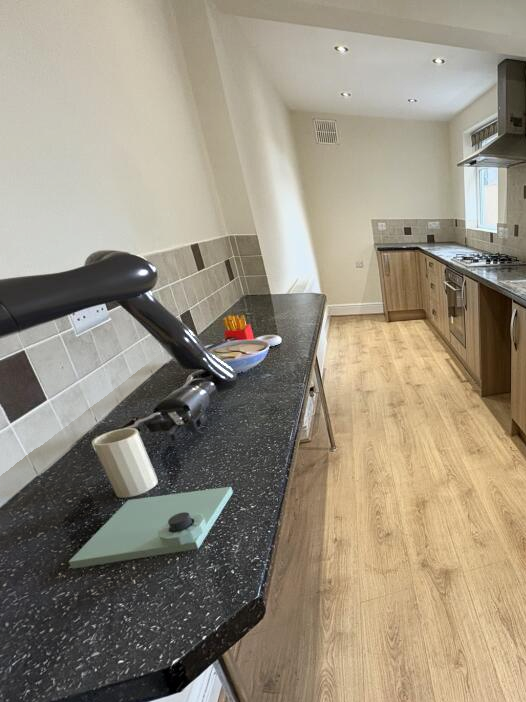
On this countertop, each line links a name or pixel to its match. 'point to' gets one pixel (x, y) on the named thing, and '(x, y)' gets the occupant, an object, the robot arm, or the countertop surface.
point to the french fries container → (237, 328)
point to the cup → (125, 462)
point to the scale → (153, 527)
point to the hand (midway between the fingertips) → (143, 441)
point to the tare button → (180, 522)
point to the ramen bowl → (240, 352)
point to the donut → (270, 339)
